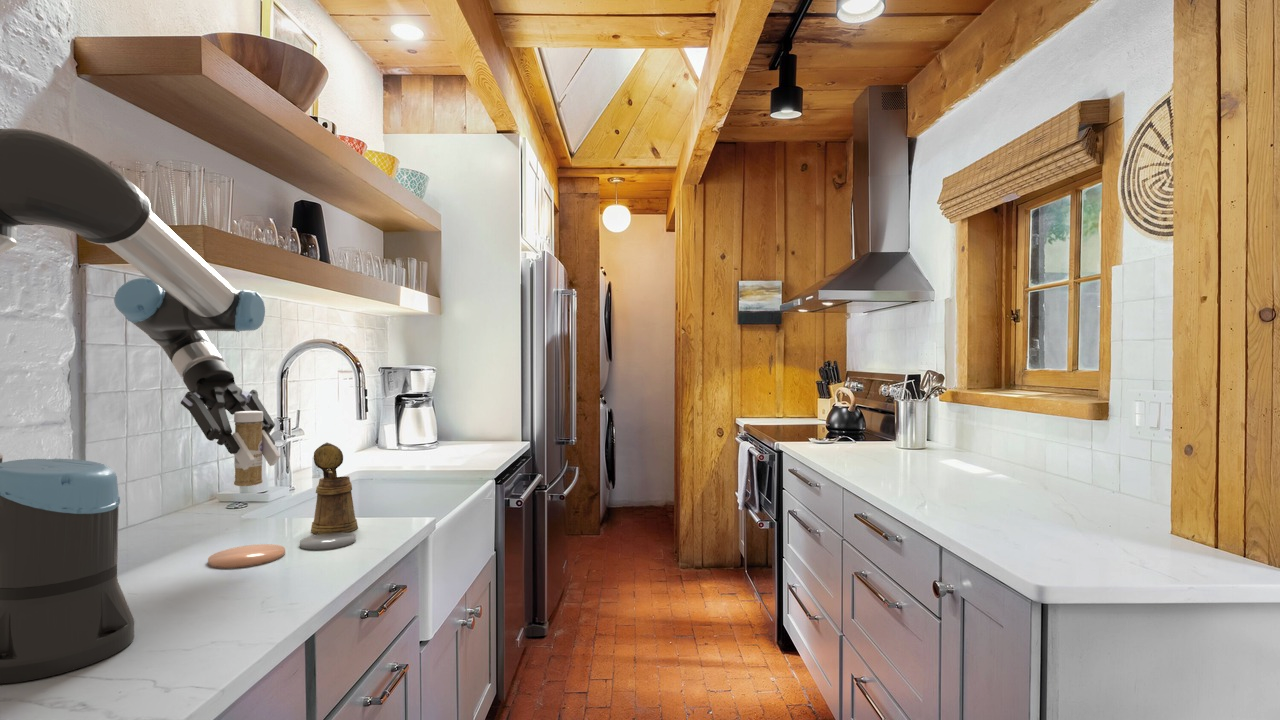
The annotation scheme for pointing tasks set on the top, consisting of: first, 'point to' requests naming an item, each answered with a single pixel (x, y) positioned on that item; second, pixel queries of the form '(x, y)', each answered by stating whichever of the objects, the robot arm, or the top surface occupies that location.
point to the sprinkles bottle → (249, 446)
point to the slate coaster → (327, 541)
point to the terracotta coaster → (246, 556)
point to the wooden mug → (332, 494)
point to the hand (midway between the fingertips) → (262, 462)
